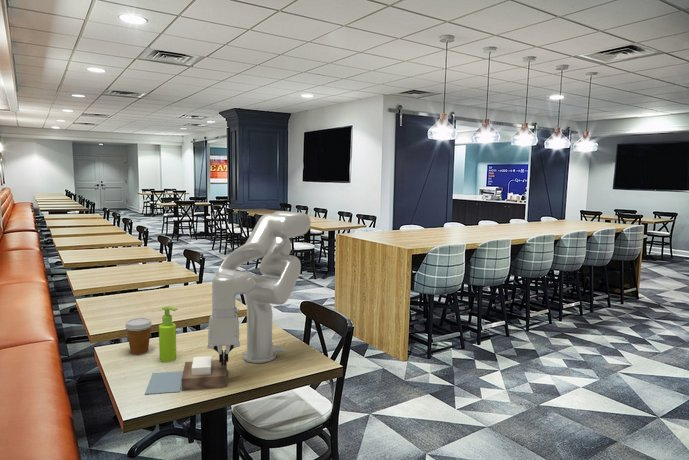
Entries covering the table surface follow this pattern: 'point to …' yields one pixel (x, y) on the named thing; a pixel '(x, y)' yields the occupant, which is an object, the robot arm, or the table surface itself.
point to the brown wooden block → (204, 377)
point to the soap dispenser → (167, 336)
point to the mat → (164, 383)
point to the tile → (202, 365)
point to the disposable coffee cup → (138, 335)
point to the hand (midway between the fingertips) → (223, 363)
